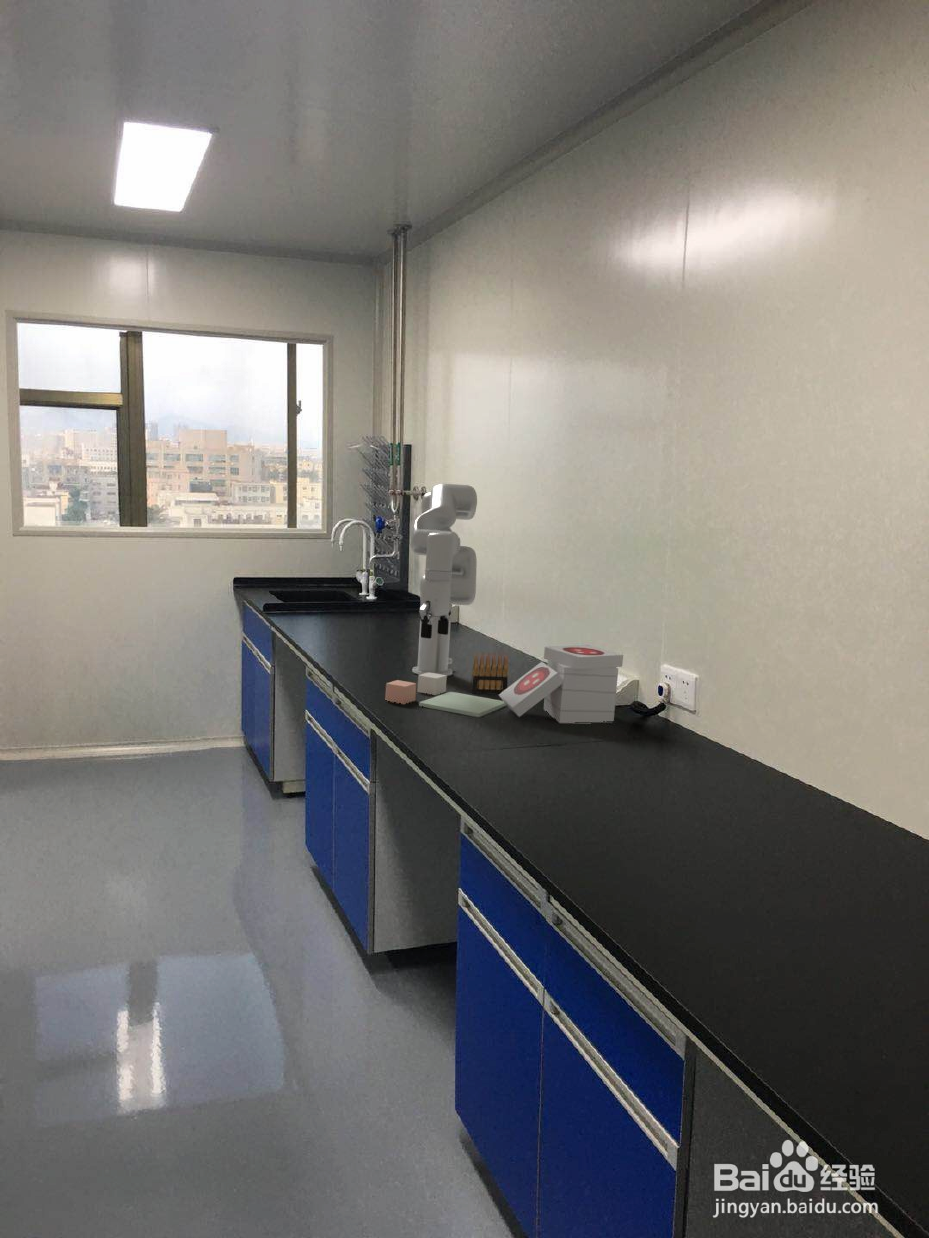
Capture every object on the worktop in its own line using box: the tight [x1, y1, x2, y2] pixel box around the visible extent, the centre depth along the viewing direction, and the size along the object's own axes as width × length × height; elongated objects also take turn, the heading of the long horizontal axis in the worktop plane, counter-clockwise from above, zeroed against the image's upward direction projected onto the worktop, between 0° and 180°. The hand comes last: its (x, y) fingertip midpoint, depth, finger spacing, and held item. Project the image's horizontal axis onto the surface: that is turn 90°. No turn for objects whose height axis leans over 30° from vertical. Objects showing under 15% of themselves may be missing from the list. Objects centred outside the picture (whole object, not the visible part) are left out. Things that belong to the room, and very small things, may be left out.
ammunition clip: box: [469, 651, 509, 694], centre depth 287 cm, size 11×2×12 cm, turn 101°
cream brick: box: [416, 672, 448, 696], centre depth 283 cm, size 6×6×5 cm
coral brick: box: [384, 679, 417, 705], centre depth 269 cm, size 6×6×5 cm
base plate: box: [418, 691, 508, 718], centre depth 269 cm, size 18×18×1 cm
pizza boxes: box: [498, 644, 624, 724], centre depth 263 cm, size 19×30×18 cm, turn 102°
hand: (434, 636), depth 281 cm, fingers open, 9 cm apart
